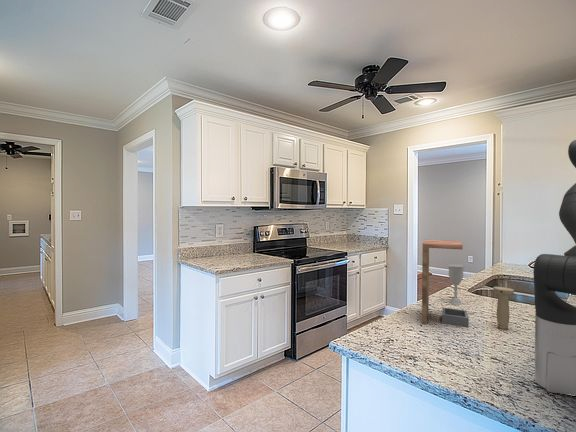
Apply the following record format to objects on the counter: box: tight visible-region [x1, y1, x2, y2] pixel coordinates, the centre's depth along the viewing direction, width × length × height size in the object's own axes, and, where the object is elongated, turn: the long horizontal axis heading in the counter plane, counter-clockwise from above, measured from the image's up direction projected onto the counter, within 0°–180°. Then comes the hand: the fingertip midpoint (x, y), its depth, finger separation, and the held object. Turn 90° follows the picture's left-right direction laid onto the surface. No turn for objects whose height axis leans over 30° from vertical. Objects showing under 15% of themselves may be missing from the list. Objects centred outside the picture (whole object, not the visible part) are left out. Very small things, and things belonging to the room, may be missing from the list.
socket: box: [441, 307, 470, 328], centre depth 124 cm, size 10×9×4 cm
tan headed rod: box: [492, 286, 515, 330], centre depth 117 cm, size 5×6×15 cm
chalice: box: [447, 264, 465, 306], centre depth 148 cm, size 7×7×18 cm
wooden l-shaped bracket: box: [421, 239, 463, 325], centre depth 126 cm, size 18×14×32 cm
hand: (543, 283), depth 111 cm, fingers open, 8 cm apart
